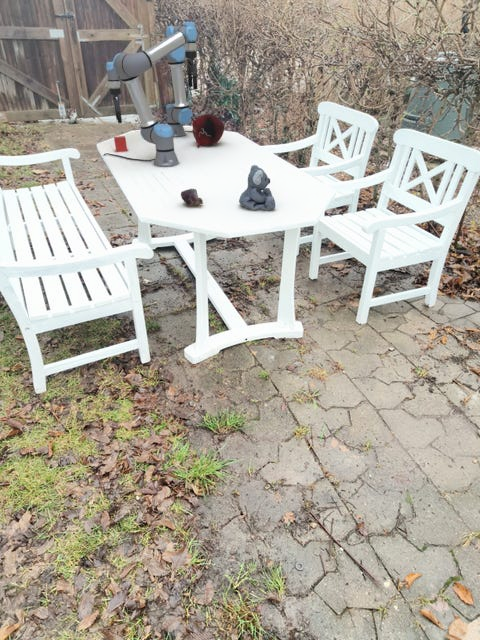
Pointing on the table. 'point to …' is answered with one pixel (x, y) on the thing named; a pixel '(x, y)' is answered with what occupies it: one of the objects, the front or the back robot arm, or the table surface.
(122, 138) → the brick
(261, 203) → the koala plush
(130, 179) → the table surface
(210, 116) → the dark red round lump
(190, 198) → the rock
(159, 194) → the table surface
